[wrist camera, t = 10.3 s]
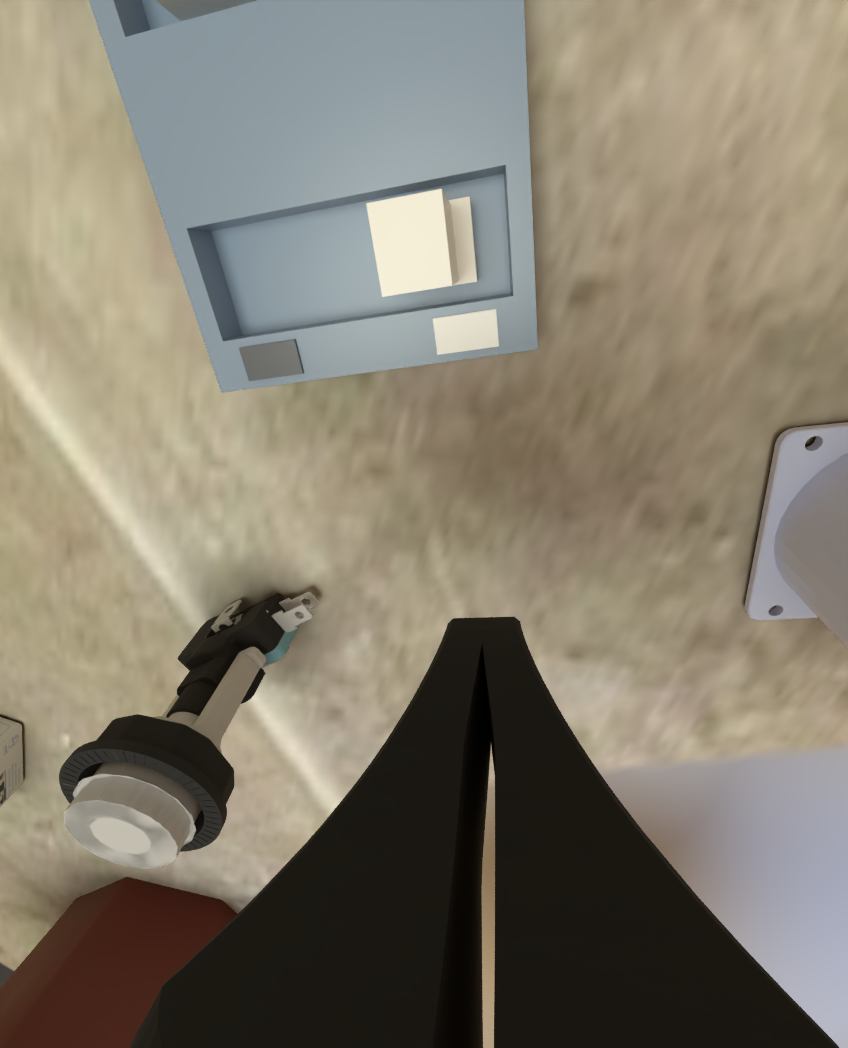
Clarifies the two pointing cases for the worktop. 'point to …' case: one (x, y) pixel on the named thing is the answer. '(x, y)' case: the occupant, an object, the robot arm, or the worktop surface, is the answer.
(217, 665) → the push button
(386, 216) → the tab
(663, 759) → the worktop surface
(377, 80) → the dip bank
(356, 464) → the worktop surface
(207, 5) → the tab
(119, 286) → the worktop surface
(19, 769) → the light bulb box
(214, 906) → the bucket
